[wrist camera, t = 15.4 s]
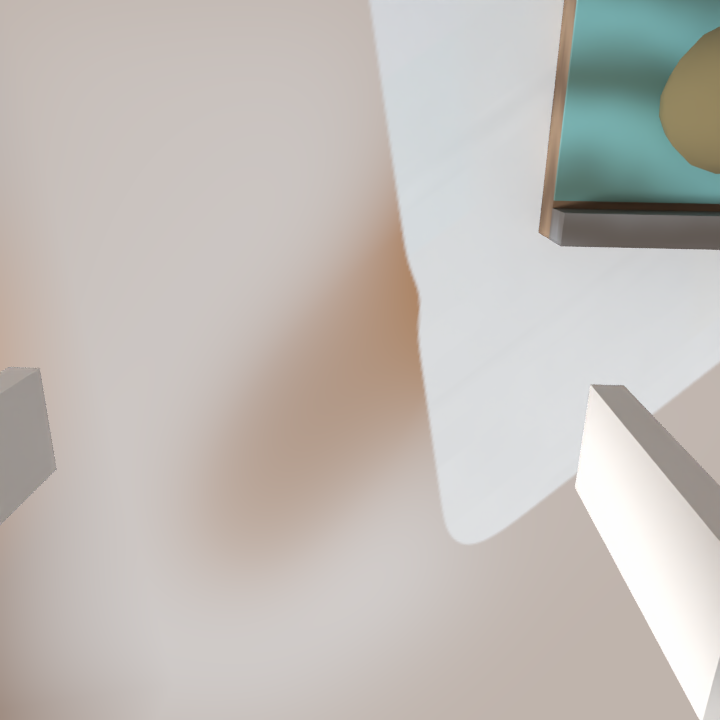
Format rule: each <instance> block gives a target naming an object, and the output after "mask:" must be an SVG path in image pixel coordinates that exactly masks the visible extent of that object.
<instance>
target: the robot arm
mask: <svg viewBox="0 0 720 720" xmlns="http://www.w3.org/2000/svg"><path fill="white" fill-rule="evenodd" d="M55 470H56V463H55V457H54V451H53V445H52V439H51V433H50V428H49V422H48V415H47V409H46V403H45V397H44V391H43V385H42V379H41V373H40V368H18V367H8V368H6V369H5V370H3V371H2V372H0V525H1V524H2V523H3V522H4V521H5V520H6V519H7V518H8V517H9V516H10V515H11V514H12V513H13V512H14V511H15V510H16V509H17V508H18V507H19V506H20V505H21V504H22V503H23V502H24V501H25V500H26V499H27V498H28V497H29V496H30V495H31V494H32V493H33V492H34V491H35V490H36V489H37V488H38V487H39V486H40V485H41V484H42V483H43V482H44V481H45V480H46V479H47V478H48V477H49V476H50V475H51V474H52V473H53V472H54V471H55ZM575 488H576V490H577V492H578V494H579V496H580V498H581V500H582V501H583V503H584V505H585V507H586V509H587V511H588V513H589V514H590V516H591V518H592V520H593V522H594V524H595V525H596V527H597V529H598V531H599V533H600V535H601V537H602V539H603V541H604V542H605V544H606V546H607V548H608V550H609V551H610V554H611V555H612V557H613V559H614V561H615V563H616V565H617V567H618V568H619V570H620V572H621V574H622V576H623V578H624V580H625V582H626V584H627V585H628V587H629V589H630V591H631V593H632V595H633V597H634V598H635V600H636V602H637V604H638V606H639V608H640V610H641V611H642V613H643V615H644V617H645V619H646V621H647V623H648V625H649V626H650V628H651V630H652V632H653V634H654V636H655V638H656V640H657V641H658V643H659V645H660V647H661V649H662V651H663V653H664V654H665V656H666V658H667V660H668V662H669V664H670V666H671V667H672V669H673V671H674V673H675V675H676V677H677V679H678V681H679V682H680V684H681V686H682V688H683V690H684V692H685V694H686V695H687V697H688V699H689V701H690V703H691V705H692V707H693V708H694V710H695V712H696V714H697V716H698V718H699V720H720V486H719V485H718V484H717V483H716V482H715V480H714V479H713V478H712V477H711V476H710V475H709V474H708V473H707V472H706V471H705V470H704V469H703V468H702V467H701V466H700V465H699V464H698V463H697V462H696V461H695V460H694V458H692V457H691V456H690V454H689V453H688V452H687V451H686V450H685V449H684V448H683V447H682V446H681V445H680V444H679V443H678V442H677V441H676V440H675V439H674V438H673V437H672V435H671V434H670V433H668V431H667V430H666V429H665V428H664V427H663V426H662V425H661V424H660V423H659V422H658V421H657V420H656V419H655V418H654V417H653V416H652V415H651V413H650V412H649V411H648V410H647V409H646V408H645V407H644V406H643V405H642V404H641V403H640V402H639V401H638V400H637V399H636V398H635V397H634V396H633V395H632V394H631V393H630V392H629V390H628V389H627V388H626V387H625V386H624V385H590V391H589V398H588V405H587V411H586V418H585V425H584V431H583V438H582V445H581V451H580V458H579V465H578V471H577V478H576V485H575Z"/></svg>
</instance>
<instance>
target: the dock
mask: <svg viewBox="0 0 720 720" xmlns="http://www.w3.org/2000/svg"><path fill="white" fill-rule="evenodd" d="M718 27H720V0H564V7H563V16H562V26H561V35H560V44H559V53H558V62H557V71H556V80H555V89H554V98H553V107H552V116H551V125H550V134H549V144H548V153H547V162H546V171H545V180H544V189H543V198H542V207H541V216H540V225H539V233H540V234H542V235H543V236H545V237H547V238H548V239H550V240H552V241H553V242H555V243H556V244H558V245H560V246H576V247H621V248H666V249H711V250H720V174H714V173H712V172H709V171H706V170H703V169H700V168H698V167H695V166H692V165H690V164H689V163H688V162H687V161H686V159H685V158H684V157H683V156H682V155H681V154H680V153H679V152H678V151H677V150H676V149H675V148H674V147H673V146H672V144H671V143H670V141H669V140H668V138H667V137H666V135H665V133H664V130H663V127H662V124H661V121H660V118H659V109H660V96H661V94H662V92H663V89H664V87H665V85H666V83H667V81H668V78H669V76H670V75H671V73H672V71H673V70H674V68H675V67H676V65H677V64H678V62H679V60H680V59H681V58H682V57H683V56H684V55H685V54H686V53H687V52H688V51H689V49H690V48H691V47H692V46H693V45H694V44H695V43H696V42H697V41H698V40H699V39H700V38H701V37H702V36H703V35H704V34H706V33H708V32H710V31H712V30H714V29H716V28H718Z"/></svg>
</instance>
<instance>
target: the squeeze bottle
mask: <svg viewBox="0 0 720 720" xmlns="http://www.w3.org/2000/svg"><path fill="white" fill-rule="evenodd" d="M659 118H660V121H661V124H662V127H663V130H664V133H665V135H666V137H667V138H668V140H669V141H670V143H671V144H672V146H673V147H674V148H675V149H676V150H677V151H678V152H679V153H680V154H681V155H682V156H683V157H684V158H685V159H686V161H687V162H688V163H689V164H690V165H692V166H695V167H698V168H700V169H703V170H706V171H709V172H712V173H714V174H720V27H718V28H716V29H714V30H712V31H710V32H708V33H706V34H704V35H703V36H702V37H701V38H700V39H699V40H698V41H697V42H696V43H695V44H694V45H693V46H692V47H691V48H690V49H689V51H688V52H687V53H686V54H685V55H684V56H683V57H682V58H681V59H680V60H679V62H678V64H677V65H676V67H675V68H674V70H673V71H672V73H671V75H670V76H669V78H668V81H667V83H666V85H665V87H664V89H663V92H662V94H661V96H660V109H659Z"/></svg>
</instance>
